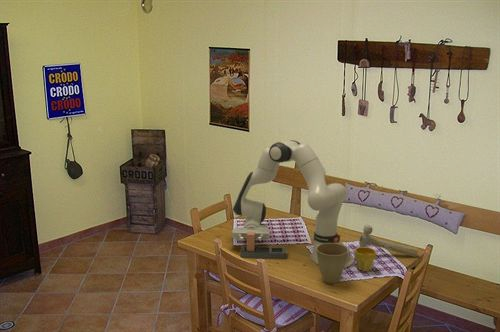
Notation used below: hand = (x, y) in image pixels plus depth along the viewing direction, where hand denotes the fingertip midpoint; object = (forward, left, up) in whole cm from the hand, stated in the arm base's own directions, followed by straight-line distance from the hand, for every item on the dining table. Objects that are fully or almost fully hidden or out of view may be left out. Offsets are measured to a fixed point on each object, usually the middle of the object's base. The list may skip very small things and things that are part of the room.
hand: (250, 239), depth 284 cm
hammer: (-62, -37, -9) cm, 73 cm away
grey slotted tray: (-6, -4, -9) cm, 11 cm away
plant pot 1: (-47, +5, -9) cm, 48 cm away
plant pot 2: (-57, -15, -9) cm, 60 cm away
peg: (0, -1, -9) cm, 9 cm away
